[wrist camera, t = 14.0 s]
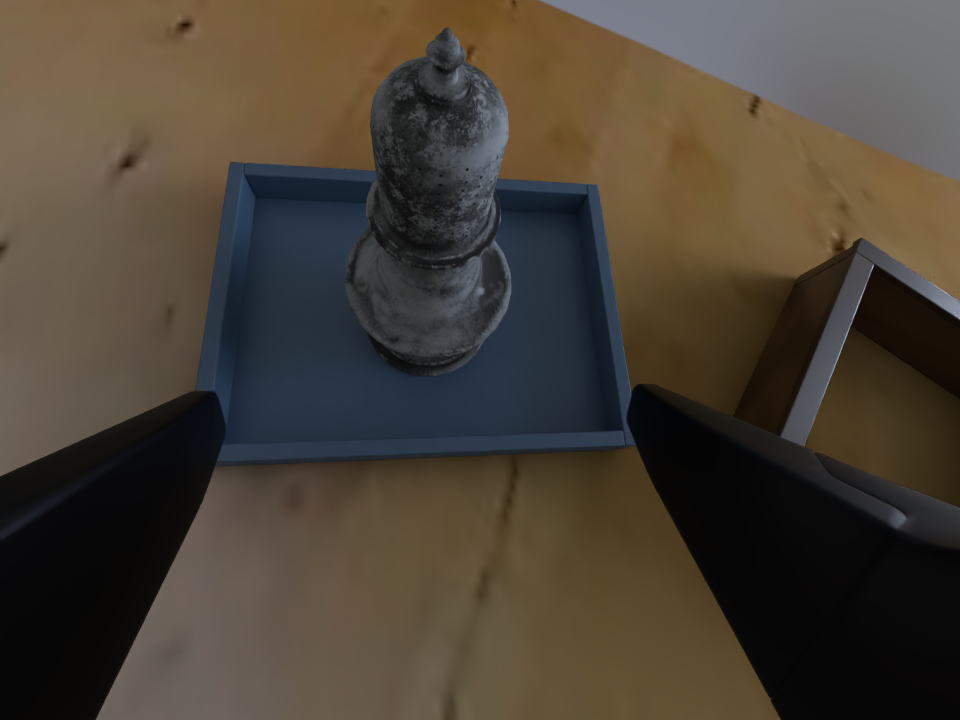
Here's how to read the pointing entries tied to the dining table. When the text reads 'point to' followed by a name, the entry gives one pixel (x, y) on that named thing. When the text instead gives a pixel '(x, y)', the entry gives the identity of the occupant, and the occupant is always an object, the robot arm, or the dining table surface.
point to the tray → (364, 373)
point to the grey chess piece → (432, 215)
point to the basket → (824, 327)
